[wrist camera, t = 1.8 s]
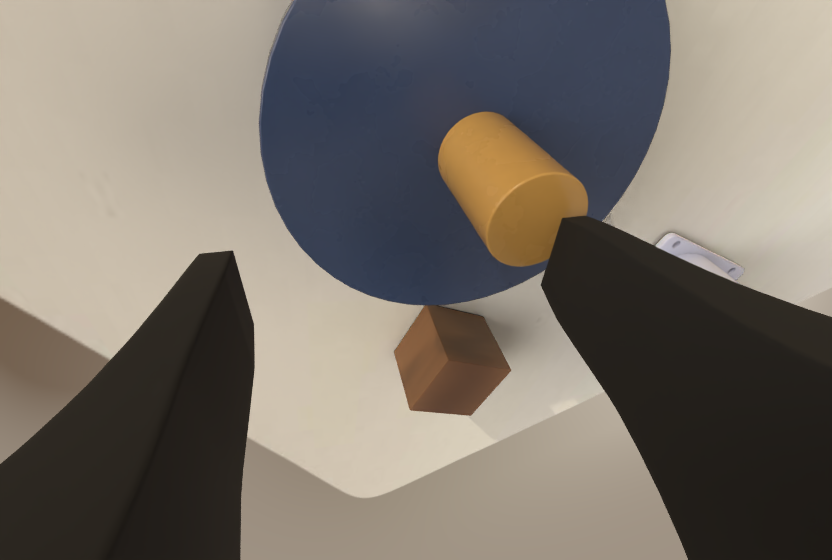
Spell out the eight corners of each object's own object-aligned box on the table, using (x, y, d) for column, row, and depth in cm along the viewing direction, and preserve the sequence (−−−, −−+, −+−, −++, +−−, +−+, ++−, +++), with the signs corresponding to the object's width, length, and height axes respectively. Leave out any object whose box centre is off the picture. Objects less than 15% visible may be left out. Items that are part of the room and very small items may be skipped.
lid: (721, 39, 14) (890, 84, 10) (502, 312, 20) (555, 405, 16) (372, -304, 8) (464, -517, 4) (212, 241, 14) (188, 362, 10)
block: (483, 316, 27) (511, 370, 24) (449, 360, 29) (470, 415, 26) (426, 303, 25) (448, 360, 22) (393, 351, 27) (409, 410, 24)
